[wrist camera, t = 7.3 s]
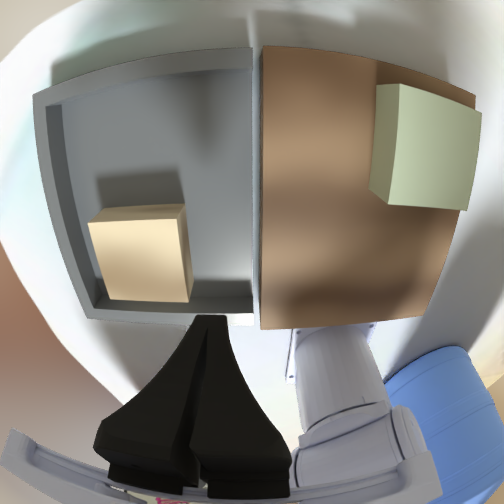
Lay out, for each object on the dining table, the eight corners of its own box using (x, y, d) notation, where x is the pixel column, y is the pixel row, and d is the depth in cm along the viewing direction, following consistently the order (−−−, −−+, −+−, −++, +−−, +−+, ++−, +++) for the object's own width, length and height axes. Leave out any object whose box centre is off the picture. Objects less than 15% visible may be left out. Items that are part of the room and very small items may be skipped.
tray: (252, 303, 22) (253, 325, 20) (97, 300, 22) (87, 318, 20) (251, 56, 13) (252, 47, 11) (53, 92, 13) (32, 94, 11)
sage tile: (444, 195, 14) (466, 210, 12) (368, 188, 14) (387, 204, 12) (455, 108, 11) (481, 113, 9) (376, 85, 11) (399, 83, 9)
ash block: (110, 299, 18) (121, 279, 20) (188, 302, 18) (194, 280, 20) (87, 222, 15) (104, 208, 17) (176, 218, 15) (185, 203, 17)
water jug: (399, 352, 27) (465, 561, 3) (480, 334, 27) (551, 483, 3) (359, 414, 35) (390, 566, 10) (434, 395, 35) (476, 520, 11)
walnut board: (409, 294, 22) (423, 315, 20) (258, 303, 22) (260, 329, 19) (449, 92, 13) (475, 95, 11) (260, 56, 13) (263, 45, 10)
